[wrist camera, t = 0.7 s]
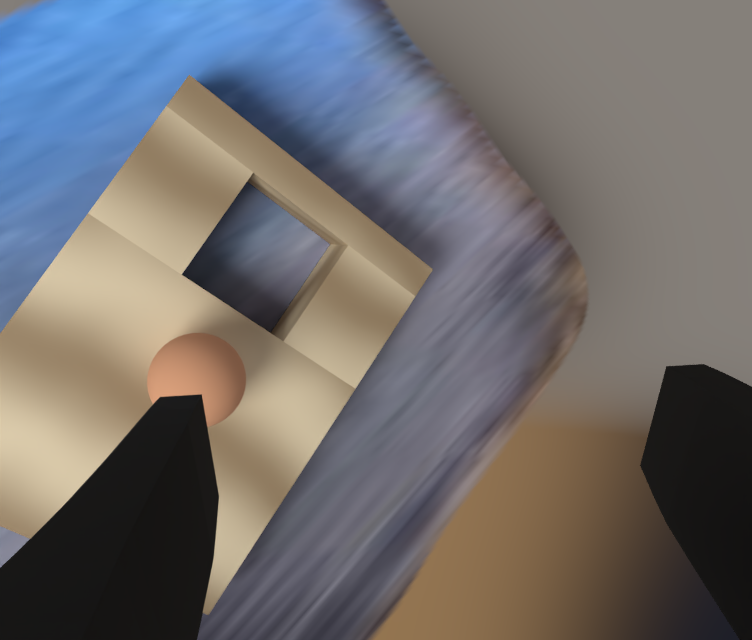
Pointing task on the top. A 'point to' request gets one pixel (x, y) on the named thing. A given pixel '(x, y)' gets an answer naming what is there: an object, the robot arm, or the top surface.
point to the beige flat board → (191, 326)
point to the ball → (199, 373)
